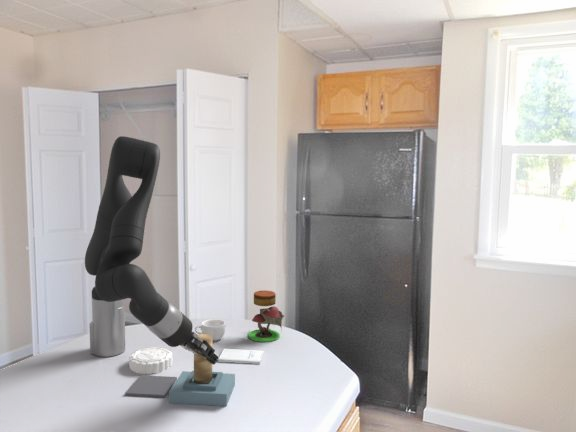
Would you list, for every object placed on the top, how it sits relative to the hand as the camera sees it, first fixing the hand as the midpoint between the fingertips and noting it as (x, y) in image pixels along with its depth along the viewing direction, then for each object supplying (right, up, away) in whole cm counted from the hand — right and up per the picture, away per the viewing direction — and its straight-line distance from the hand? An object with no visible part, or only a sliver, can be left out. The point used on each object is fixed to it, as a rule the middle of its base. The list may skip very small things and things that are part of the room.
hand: (208, 357), depth 119 cm
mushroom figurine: (+12, -5, +39) cm, 42 cm away
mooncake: (-19, -7, +16) cm, 26 cm away
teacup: (-6, -5, +37) cm, 38 cm away
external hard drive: (+6, -7, +22) cm, 24 cm away
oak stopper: (-1, -5, -1) cm, 6 cm away
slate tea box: (-1, -9, 0) cm, 9 cm away
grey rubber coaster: (-15, -8, +2) cm, 17 cm away
